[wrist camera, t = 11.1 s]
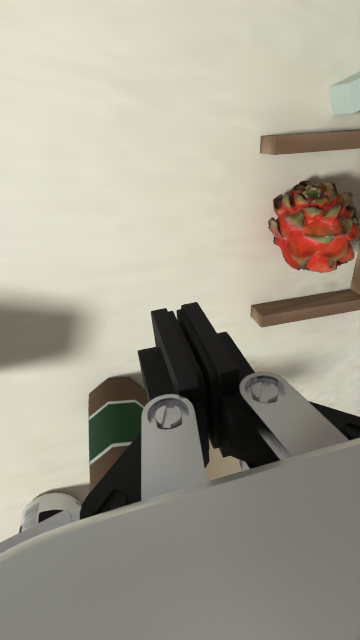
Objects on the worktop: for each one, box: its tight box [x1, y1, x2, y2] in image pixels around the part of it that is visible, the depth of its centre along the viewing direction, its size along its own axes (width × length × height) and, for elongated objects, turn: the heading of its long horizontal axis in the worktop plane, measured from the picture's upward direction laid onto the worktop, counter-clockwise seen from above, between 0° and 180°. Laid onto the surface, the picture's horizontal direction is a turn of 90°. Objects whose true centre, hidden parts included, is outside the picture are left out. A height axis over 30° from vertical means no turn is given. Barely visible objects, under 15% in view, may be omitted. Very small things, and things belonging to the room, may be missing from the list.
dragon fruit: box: [268, 181, 360, 273], centre depth 36 cm, size 8×8×12 cm
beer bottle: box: [89, 378, 148, 491], centre depth 34 cm, size 8×8×24 cm
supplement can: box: [19, 492, 81, 533], centre depth 44 cm, size 8×8×15 cm
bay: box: [251, 130, 360, 327], centre depth 39 cm, size 20×16×3 cm
